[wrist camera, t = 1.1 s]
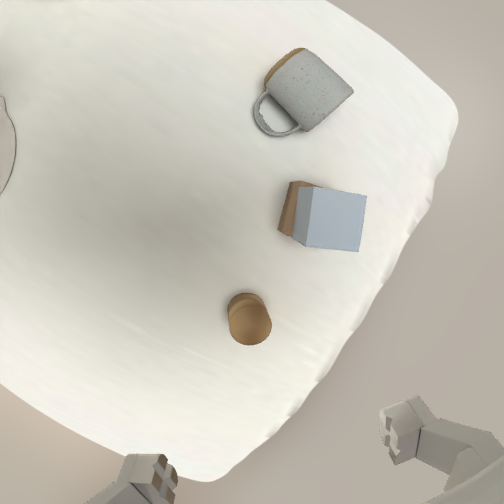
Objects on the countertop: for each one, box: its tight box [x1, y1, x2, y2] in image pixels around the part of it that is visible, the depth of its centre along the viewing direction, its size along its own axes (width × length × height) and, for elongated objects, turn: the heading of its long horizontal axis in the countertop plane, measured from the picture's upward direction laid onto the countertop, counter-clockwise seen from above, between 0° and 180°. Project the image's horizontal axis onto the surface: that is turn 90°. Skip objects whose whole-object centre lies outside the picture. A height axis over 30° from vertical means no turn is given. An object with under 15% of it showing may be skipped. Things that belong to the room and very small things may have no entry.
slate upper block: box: [292, 186, 367, 252], centre depth 30 cm, size 6×6×5 cm
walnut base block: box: [278, 181, 322, 237], centre depth 34 cm, size 6×6×5 cm
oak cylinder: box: [228, 293, 272, 345], centre depth 36 cm, size 5×5×5 cm
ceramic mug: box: [254, 48, 354, 136], centre depth 30 cm, size 11×8×8 cm
